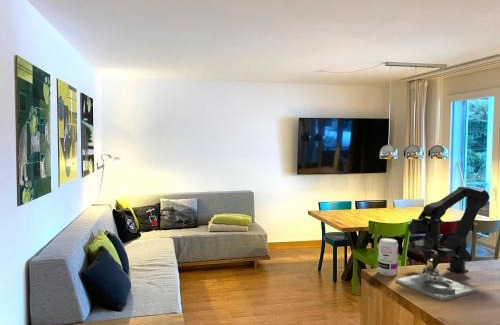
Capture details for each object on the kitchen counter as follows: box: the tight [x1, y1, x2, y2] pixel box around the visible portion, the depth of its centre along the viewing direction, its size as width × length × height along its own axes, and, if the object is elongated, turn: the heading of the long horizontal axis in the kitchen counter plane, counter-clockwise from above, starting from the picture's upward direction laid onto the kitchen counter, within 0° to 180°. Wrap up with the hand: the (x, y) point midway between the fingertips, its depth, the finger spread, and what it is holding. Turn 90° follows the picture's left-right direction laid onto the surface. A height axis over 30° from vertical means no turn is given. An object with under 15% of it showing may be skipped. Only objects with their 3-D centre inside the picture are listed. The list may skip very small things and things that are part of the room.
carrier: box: [395, 272, 478, 302], centre depth 161 cm, size 20×22×4 cm
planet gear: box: [422, 258, 440, 274], centre depth 178 cm, size 6×6×6 cm
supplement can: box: [377, 237, 399, 277], centre depth 177 cm, size 8×8×15 cm
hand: (430, 267), depth 178 cm, fingers closed on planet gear, 3 cm apart
